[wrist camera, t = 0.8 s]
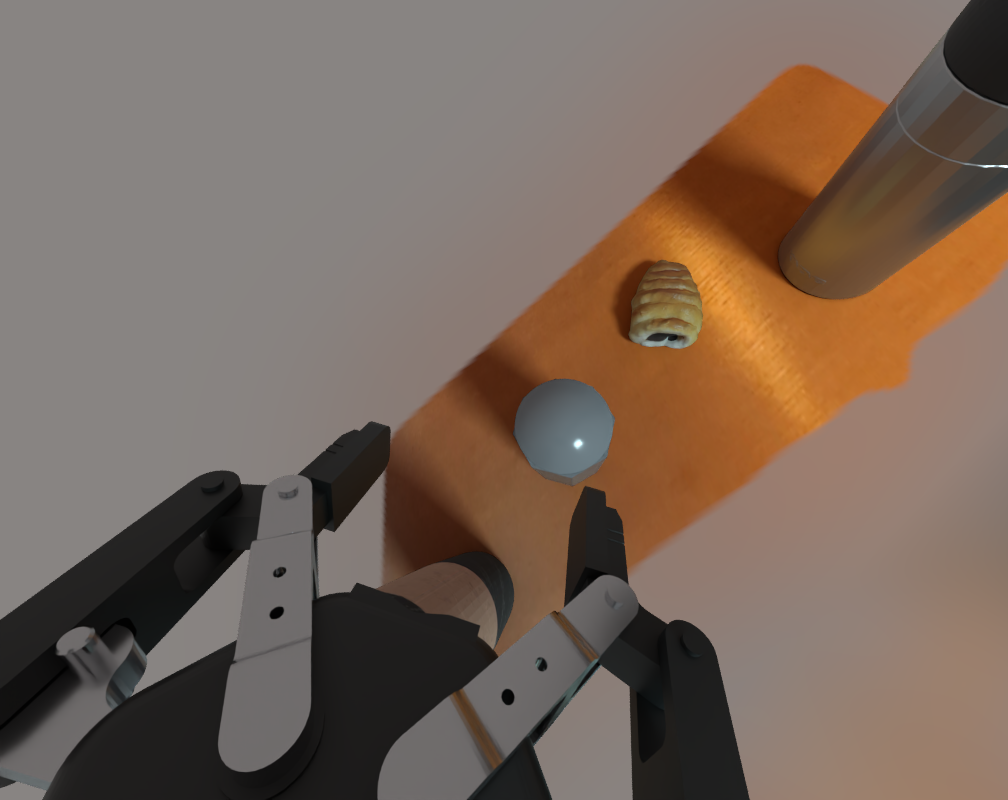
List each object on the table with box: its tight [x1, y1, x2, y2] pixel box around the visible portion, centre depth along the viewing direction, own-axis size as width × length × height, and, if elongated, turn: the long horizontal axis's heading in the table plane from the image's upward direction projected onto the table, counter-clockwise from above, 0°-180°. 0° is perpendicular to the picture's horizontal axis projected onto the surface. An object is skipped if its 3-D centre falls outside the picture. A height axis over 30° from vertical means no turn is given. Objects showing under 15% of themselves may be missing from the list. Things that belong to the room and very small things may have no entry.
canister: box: [513, 379, 615, 486], centre depth 29 cm, size 6×6×12 cm
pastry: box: [629, 260, 703, 348], centre depth 35 cm, size 9×7×4 cm
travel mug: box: [377, 552, 514, 650], centre depth 23 cm, size 8×8×20 cm
